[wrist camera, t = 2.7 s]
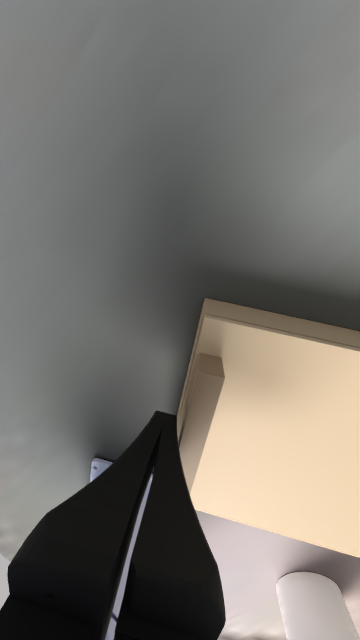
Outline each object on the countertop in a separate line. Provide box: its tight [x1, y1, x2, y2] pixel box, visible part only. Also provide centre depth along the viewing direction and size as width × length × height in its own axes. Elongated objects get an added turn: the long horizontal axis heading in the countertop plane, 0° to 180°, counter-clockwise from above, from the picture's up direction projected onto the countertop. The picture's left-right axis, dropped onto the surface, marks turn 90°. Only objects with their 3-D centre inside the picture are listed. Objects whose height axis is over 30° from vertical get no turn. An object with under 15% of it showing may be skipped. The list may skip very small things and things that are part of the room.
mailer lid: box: [177, 314, 360, 558], centre depth 11 cm, size 14×16×3 cm
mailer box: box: [177, 298, 360, 428], centre depth 15 cm, size 14×16×5 cm
